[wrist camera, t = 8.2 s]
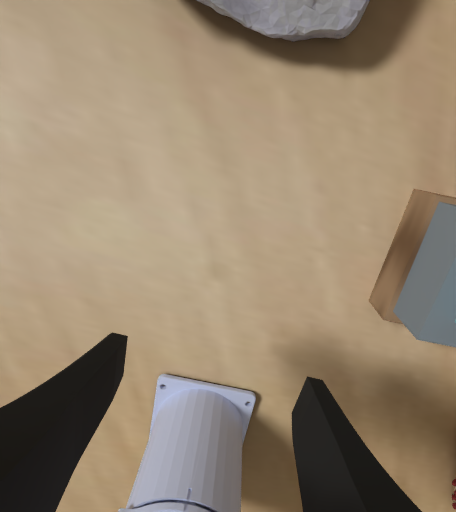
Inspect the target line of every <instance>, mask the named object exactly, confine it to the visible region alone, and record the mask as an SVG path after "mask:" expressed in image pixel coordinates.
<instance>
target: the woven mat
mask: <svg viewBox="0 0 456 512" xmlns="http://www.w3.org/2000/svg"><path fill="white" fill-rule="evenodd" d="M452 485H454V486H455V489H454V495H452V500H453V503H452V506H453V508H454V509H456V479H454V481H453V482H452Z"/></svg>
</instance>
